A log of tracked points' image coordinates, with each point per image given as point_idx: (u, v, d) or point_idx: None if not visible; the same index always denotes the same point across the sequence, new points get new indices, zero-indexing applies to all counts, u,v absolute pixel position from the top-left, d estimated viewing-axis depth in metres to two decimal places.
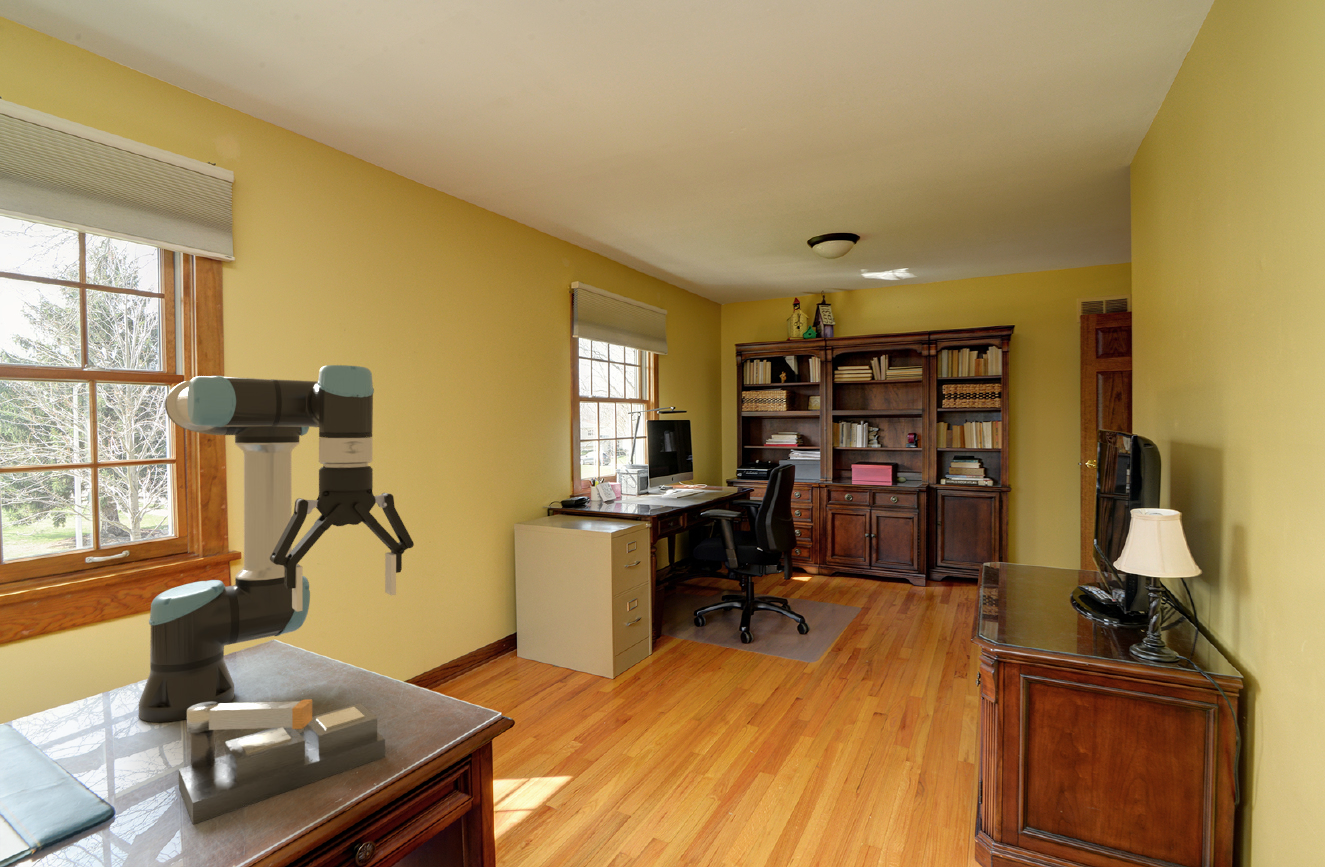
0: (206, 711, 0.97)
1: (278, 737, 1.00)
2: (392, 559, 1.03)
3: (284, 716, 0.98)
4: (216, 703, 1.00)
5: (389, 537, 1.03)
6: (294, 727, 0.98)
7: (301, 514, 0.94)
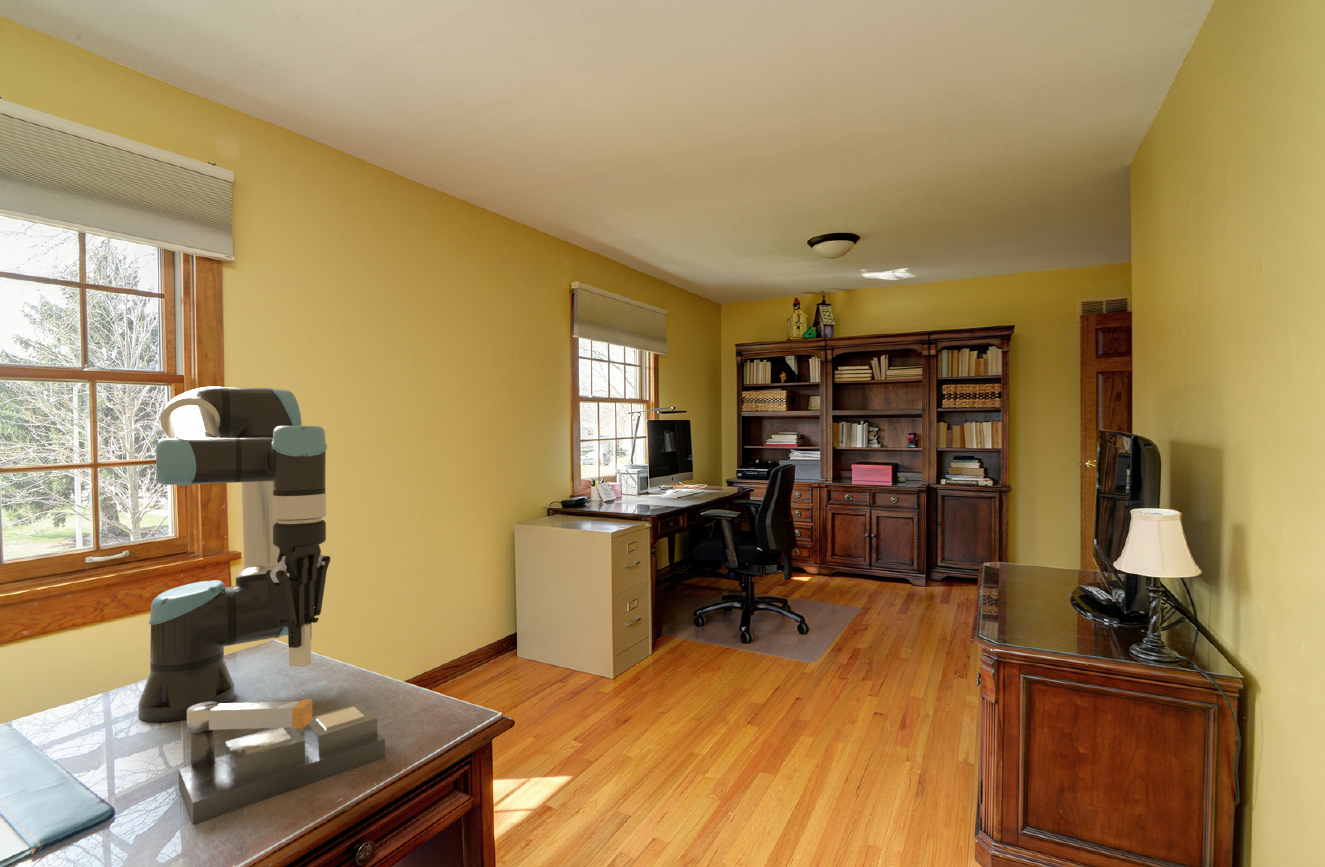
0: (206, 711, 0.97)
1: (278, 737, 1.00)
2: None
3: (284, 716, 0.98)
4: (216, 703, 1.00)
5: None
6: (294, 727, 0.98)
7: None
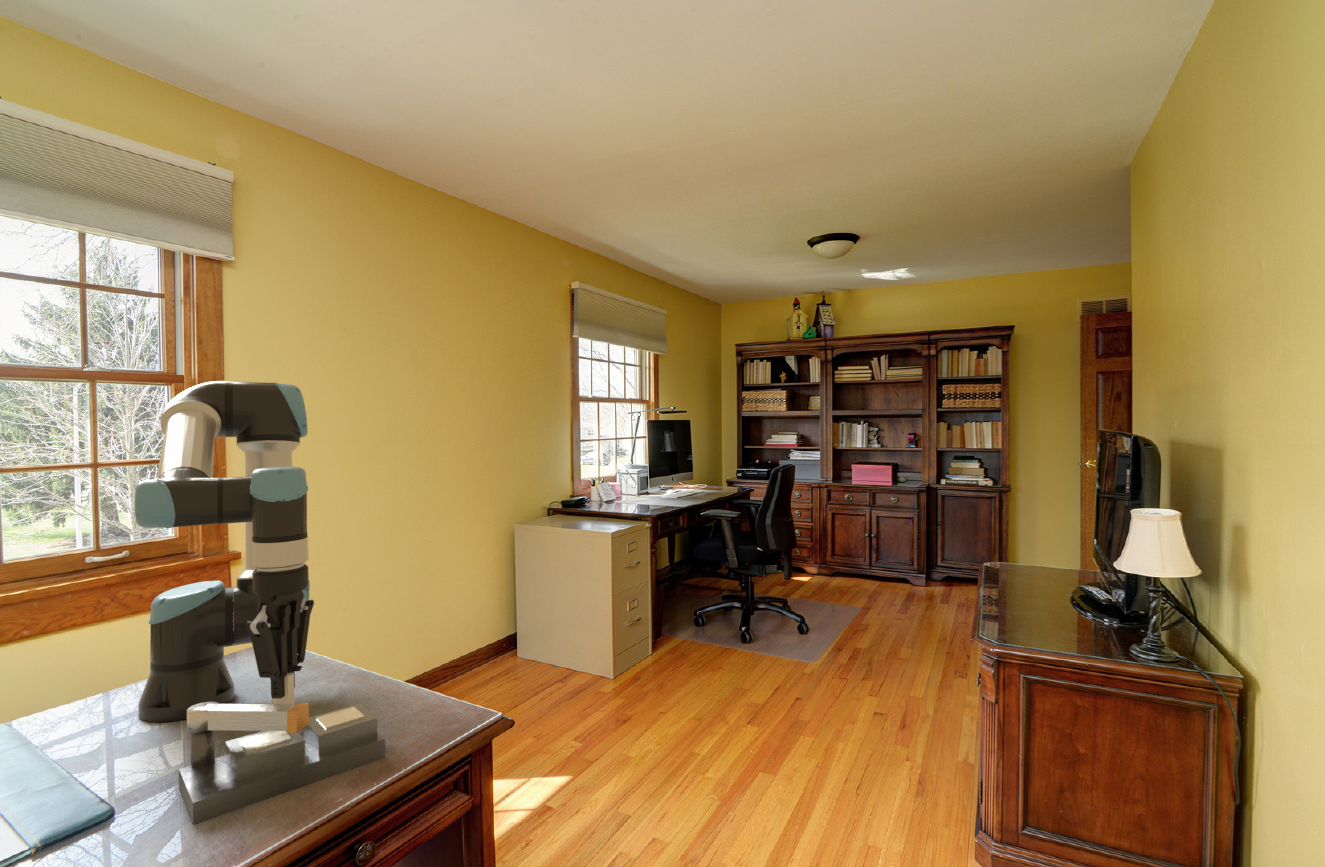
0: (205, 711, 0.97)
1: (278, 737, 1.00)
2: None
3: (279, 719, 0.97)
4: (216, 703, 1.00)
5: None
6: (289, 731, 0.97)
7: None
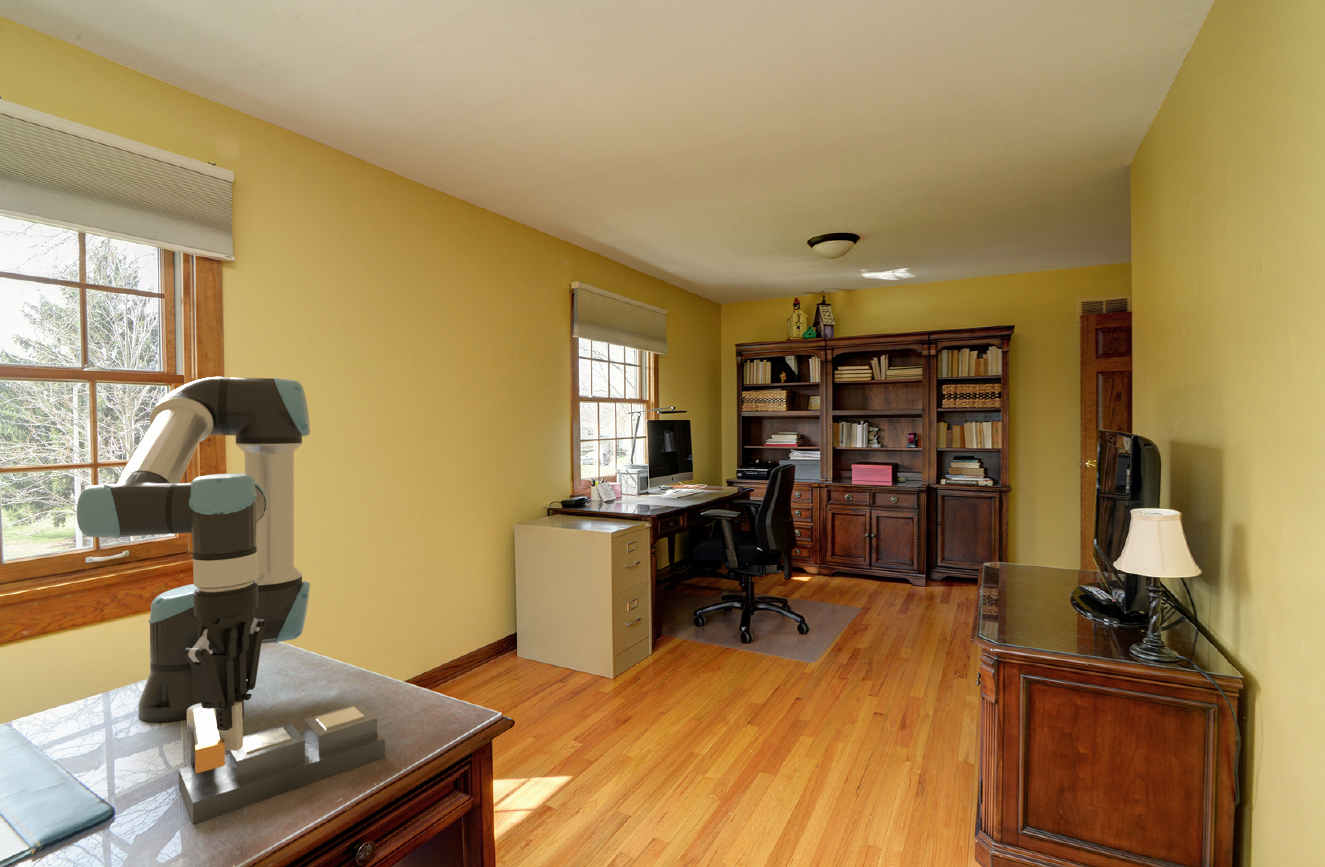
0: (192, 713, 0.97)
1: (278, 737, 1.00)
2: None
3: None
4: None
5: None
6: (195, 767, 0.86)
7: None
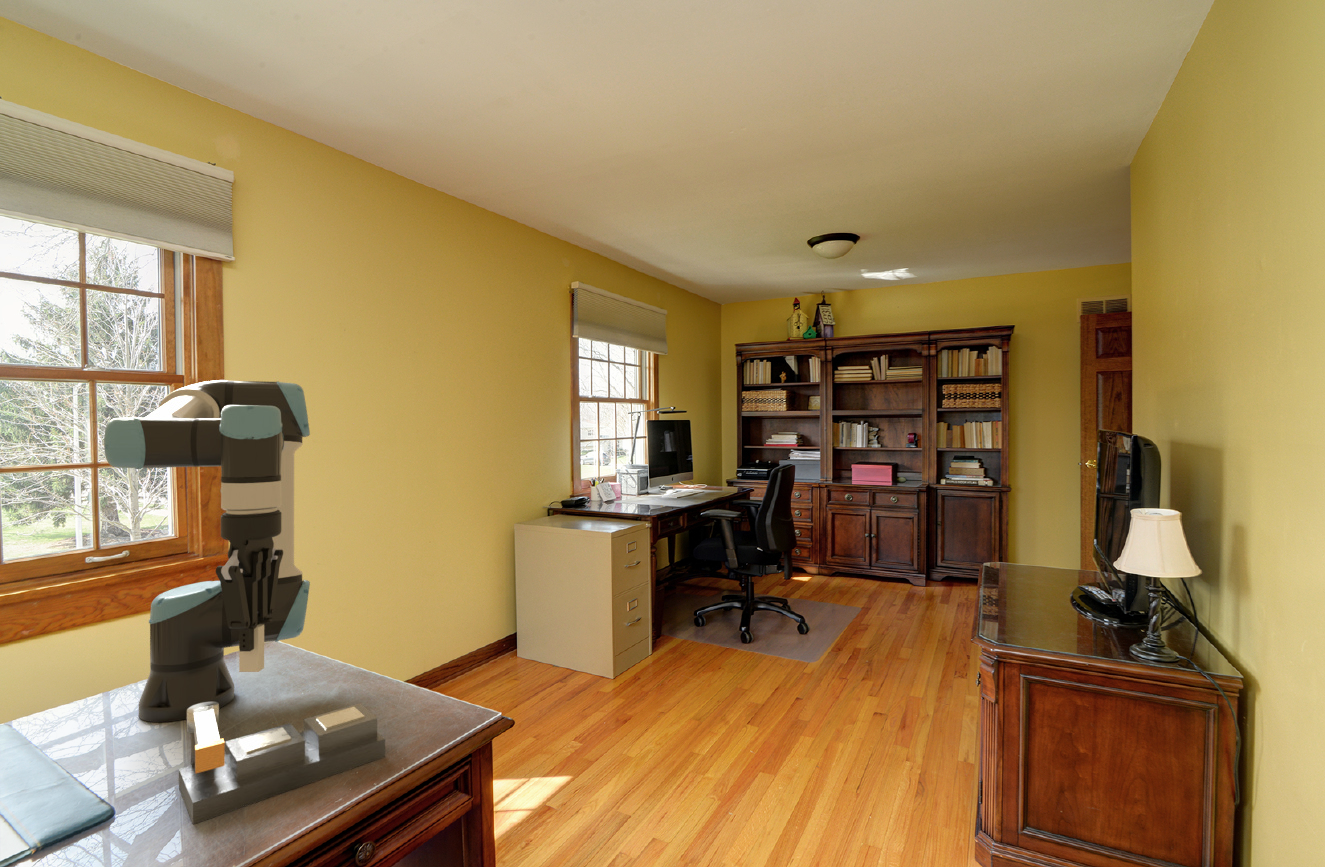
0: (192, 713, 0.97)
1: (278, 737, 1.00)
2: None
3: None
4: (213, 707, 0.98)
5: None
6: None
7: None
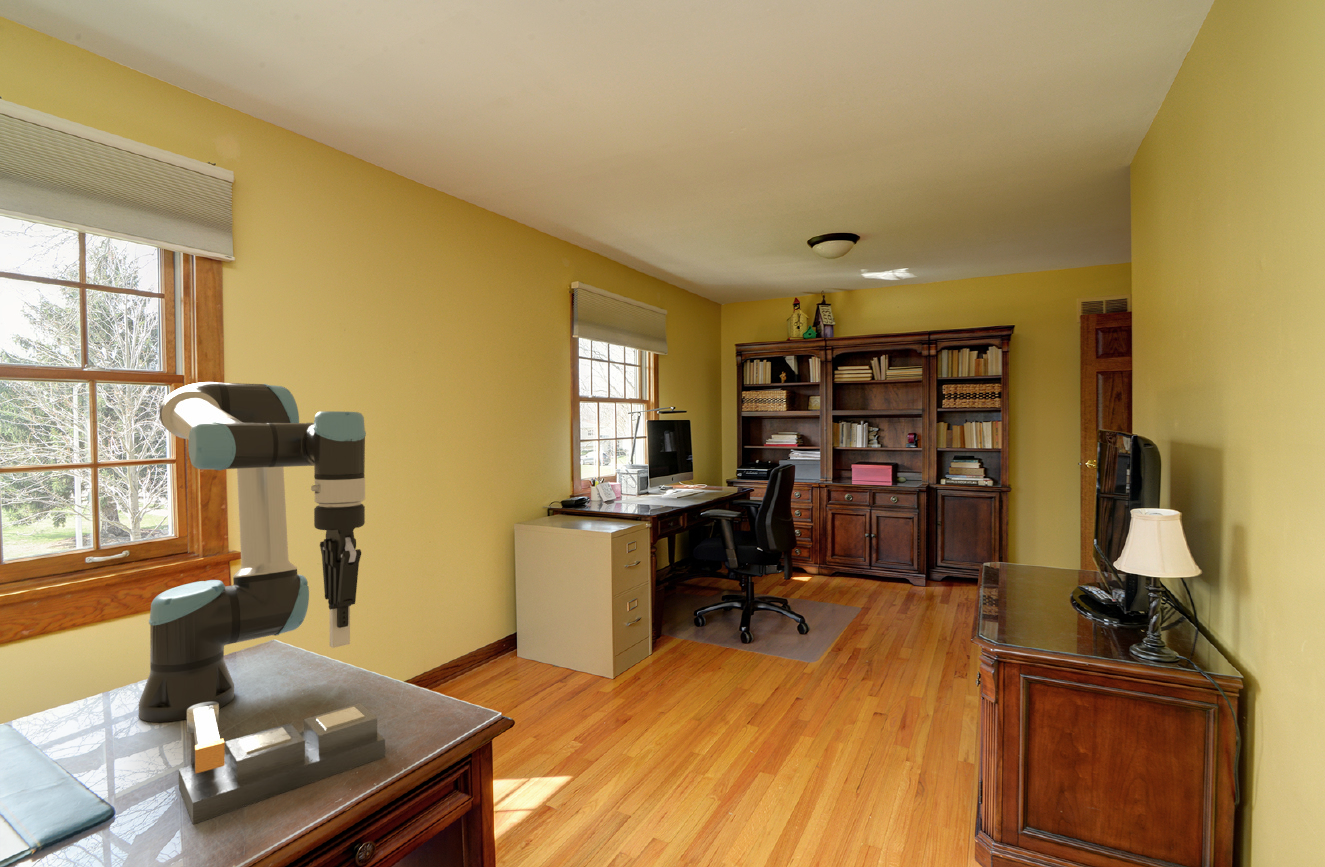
0: (192, 713, 0.97)
1: (278, 737, 1.00)
2: (331, 612, 1.06)
3: None
4: (213, 707, 0.98)
5: (335, 588, 1.05)
6: None
7: (322, 554, 1.09)
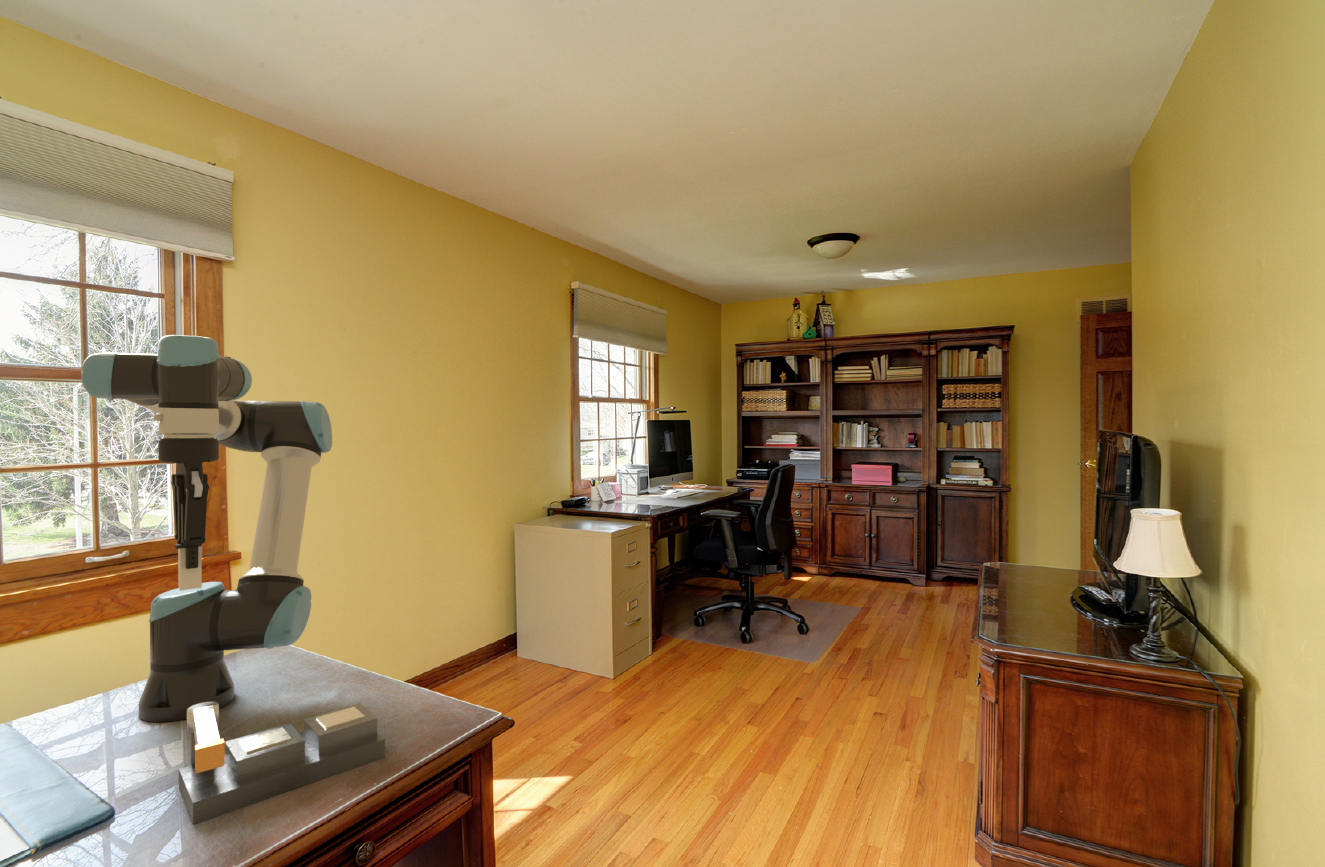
0: (192, 713, 0.97)
1: (278, 737, 1.00)
2: (179, 552, 0.98)
3: None
4: (213, 707, 0.98)
5: (182, 527, 0.97)
6: None
7: (173, 492, 1.02)
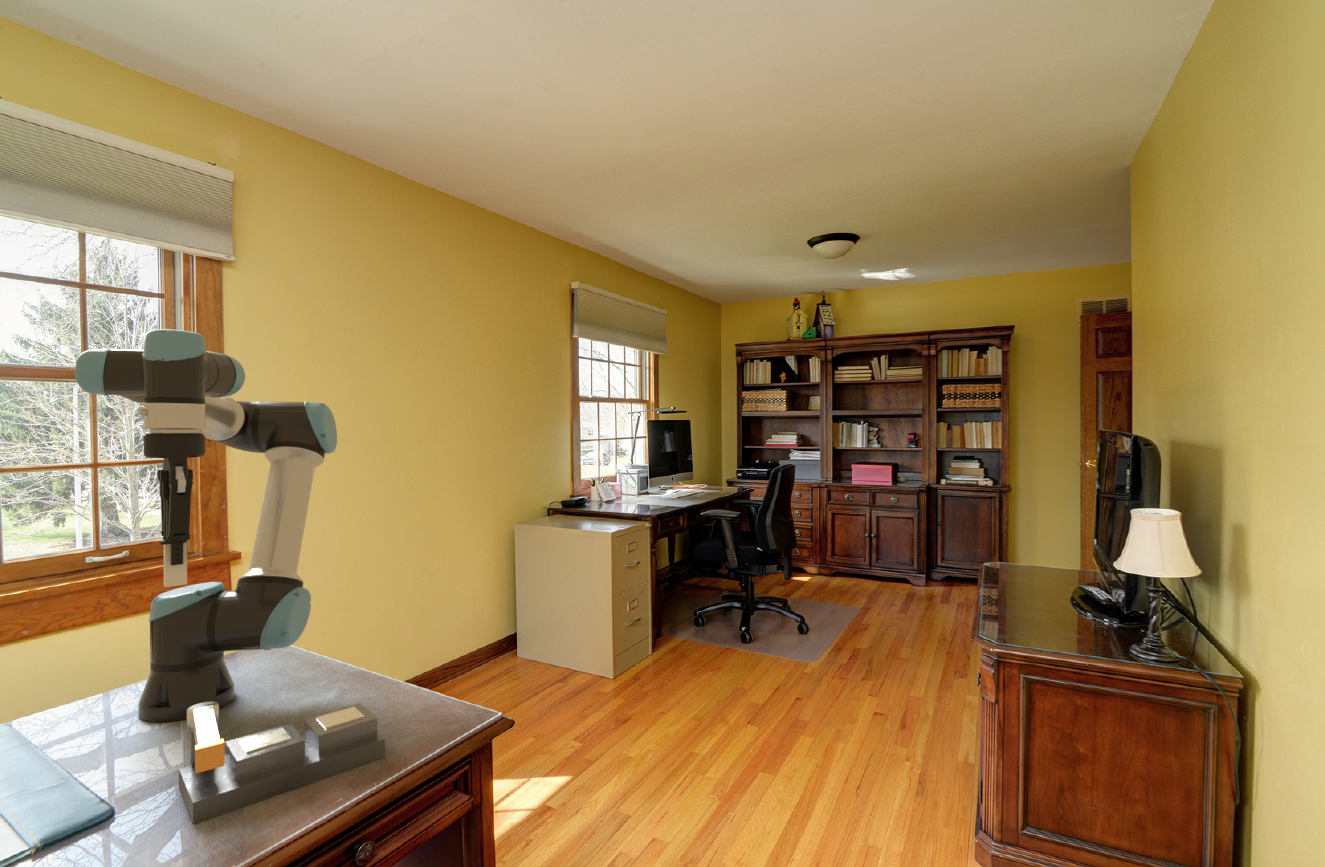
0: (192, 713, 0.97)
1: (278, 737, 1.00)
2: (164, 548, 0.97)
3: None
4: (213, 707, 0.98)
5: (167, 522, 0.96)
6: None
7: None
